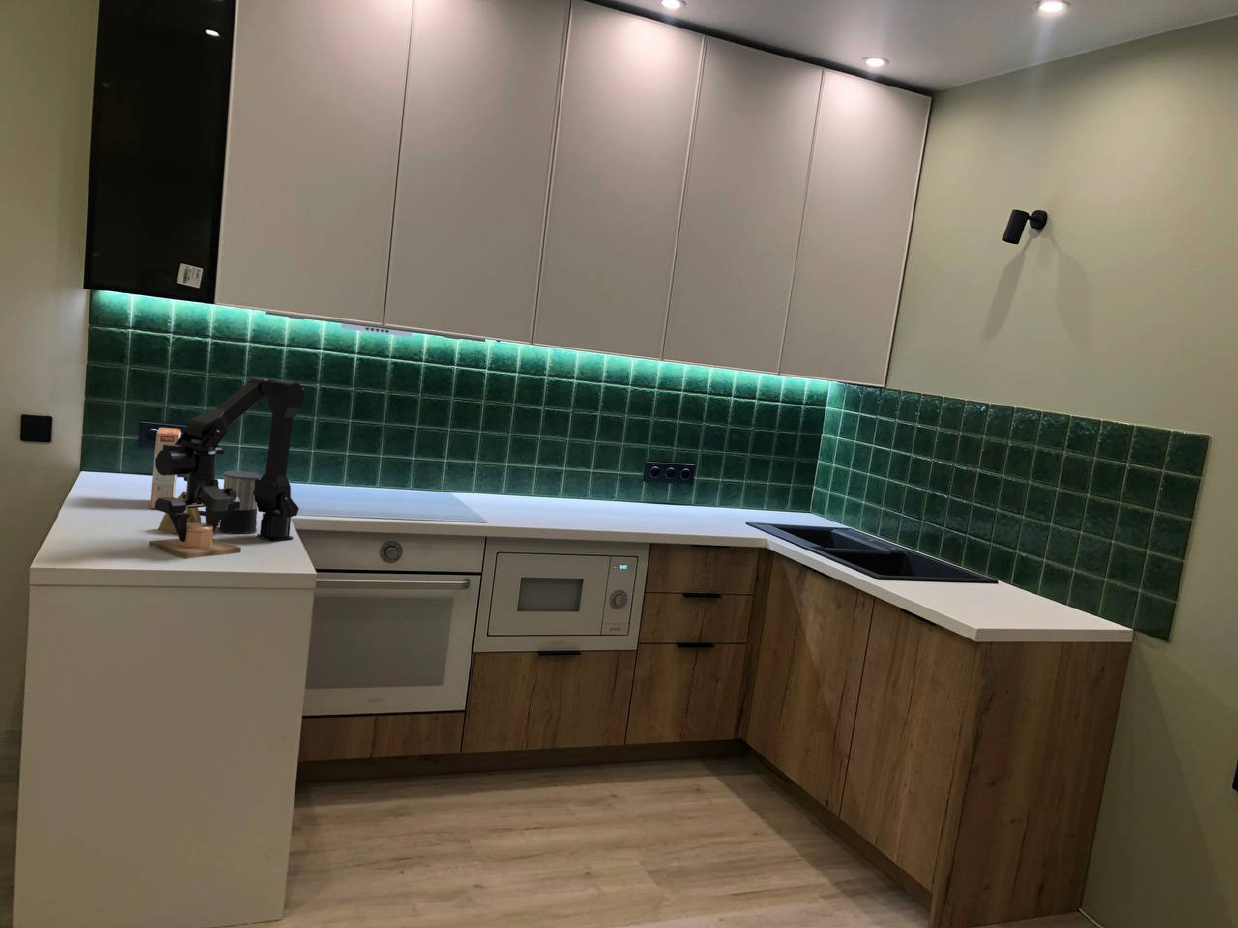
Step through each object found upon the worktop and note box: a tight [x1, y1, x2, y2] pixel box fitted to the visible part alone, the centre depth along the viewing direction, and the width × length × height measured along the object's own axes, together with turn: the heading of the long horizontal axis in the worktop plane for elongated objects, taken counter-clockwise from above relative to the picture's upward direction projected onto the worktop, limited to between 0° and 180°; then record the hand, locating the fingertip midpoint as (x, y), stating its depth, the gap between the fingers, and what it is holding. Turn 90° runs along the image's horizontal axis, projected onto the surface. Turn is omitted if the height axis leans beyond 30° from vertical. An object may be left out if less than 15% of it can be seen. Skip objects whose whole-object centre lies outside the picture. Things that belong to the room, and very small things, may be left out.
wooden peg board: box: [148, 537, 241, 559], centre depth 229 cm, size 14×14×4 cm
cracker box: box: [149, 427, 182, 510], centre depth 273 cm, size 14×6×21 cm, turn 22°
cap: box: [179, 522, 214, 548], centre depth 229 cm, size 7×7×4 cm
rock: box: [157, 491, 202, 534], centre depth 243 cm, size 11×9×10 cm
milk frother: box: [199, 470, 262, 535], centre depth 253 cm, size 14×16×15 cm
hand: (195, 540), depth 229 cm, fingers closed on cap, 7 cm apart
